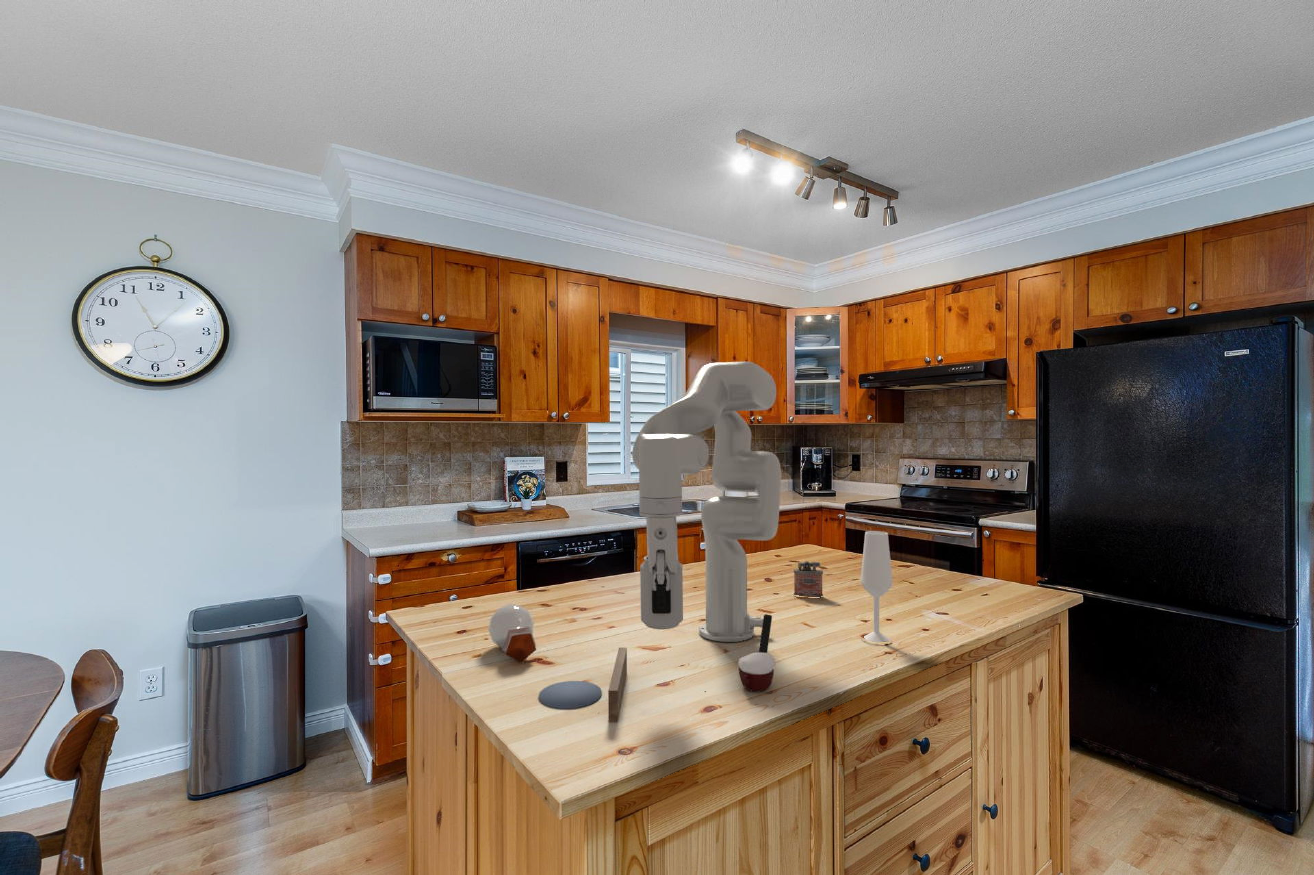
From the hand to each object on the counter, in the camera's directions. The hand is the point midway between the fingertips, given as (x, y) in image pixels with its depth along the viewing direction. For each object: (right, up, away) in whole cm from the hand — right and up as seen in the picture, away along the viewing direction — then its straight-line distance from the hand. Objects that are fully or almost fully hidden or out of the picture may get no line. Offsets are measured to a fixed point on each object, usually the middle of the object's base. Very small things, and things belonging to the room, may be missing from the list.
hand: (661, 605), depth 109 cm
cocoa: (+17, -16, +3) cm, 24 cm away
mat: (-16, -16, 0) cm, 23 cm away
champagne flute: (+48, -16, +28) cm, 58 cm away
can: (0, -4, 0) cm, 4 cm away
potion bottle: (-31, -16, +22) cm, 41 cm away
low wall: (-8, -16, 0) cm, 18 cm away
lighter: (+42, -16, +66) cm, 79 cm away
